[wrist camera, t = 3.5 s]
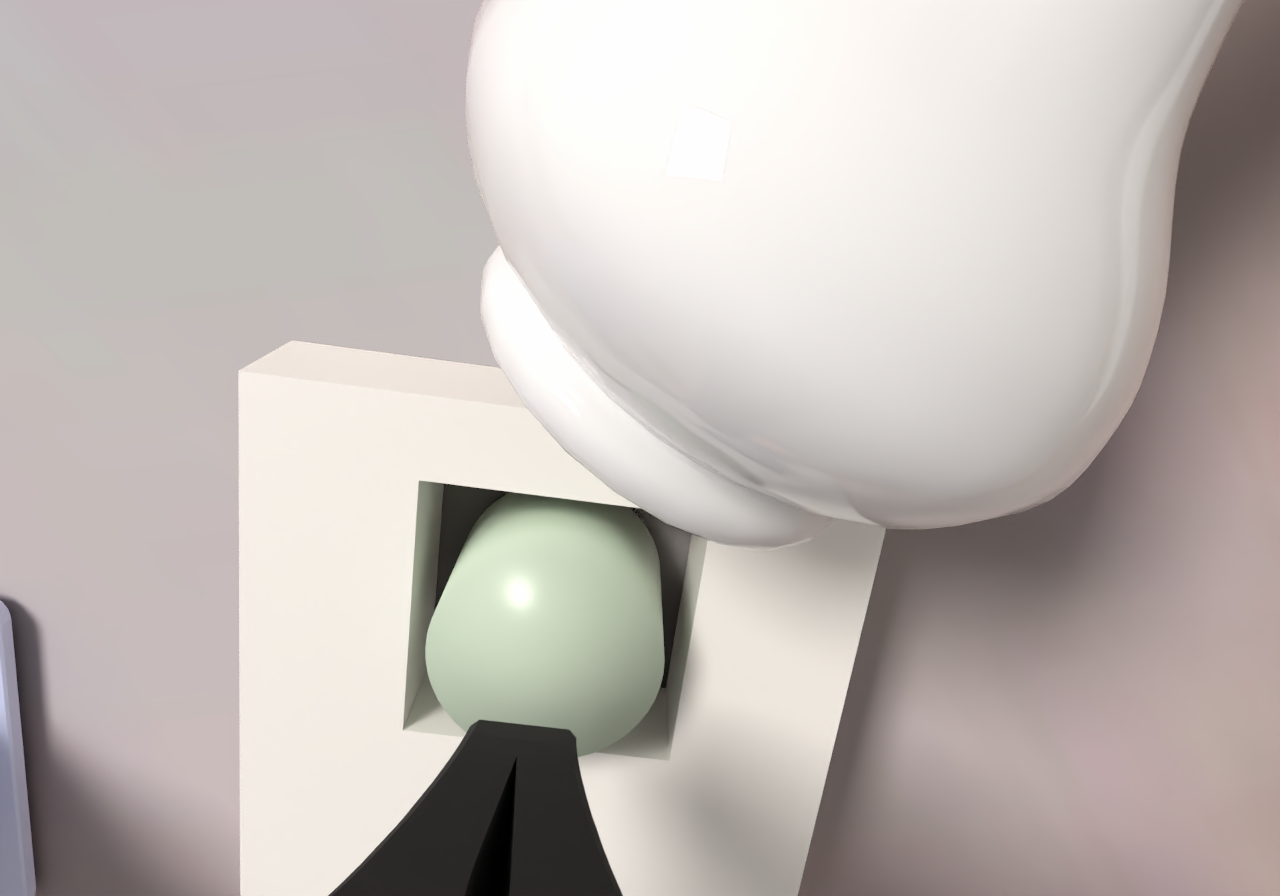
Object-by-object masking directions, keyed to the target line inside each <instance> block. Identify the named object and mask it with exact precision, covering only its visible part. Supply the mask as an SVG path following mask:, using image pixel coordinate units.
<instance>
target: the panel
mask: <svg viewBox="0 0 1280 896" xmlns="http://www.w3.org/2000/svg"><path fill="white" fill-rule="evenodd" d="M444 484H452V485H460V486H468V487H476V488H484V489H491V490H499V491H507V492H515V493H523V494H531V495H539V496H547V497H555V498H563V499H571V500H578V501H586V502H594V503H602V504H610V505H618V506H626V507H634V508H640V507H638V506H637V505H635V504H633V503H632V502H630V501H628V500H627V499H625V498H623V497H622V496H620V495H619V494H617V493H615V492H614V491H613V490H611V489H610V488H609V487H608V486H607V485H605V484H604V483H603V482H602V481H601V480H599V479H598V478H597V477H596V476H595V475H593V474H592V473H591V472H590V471H589V470H587V469H586V468H585V467H584V466H582V465H581V464H580V463H579V462H578V461H576V460H575V459H574V458H573V457H572V456H570V455H569V454H568V453H567V452H566V451H565V450H564V449H563V448H562V447H561V446H560V445H559V444H558V443H557V442H556V440H555V439H554V438H553V437H552V436H551V435H550V434H549V433H548V431H547V430H546V429H545V428H544V427H543V426H542V425H541V424H540V423H539V421H538V420H537V419H536V418H535V417H534V416H533V415H532V414H531V413H530V411H529V410H528V409H527V408H526V407H525V406H524V404H523V403H522V401H521V400H520V398H519V396H518V395H517V393H516V392H515V390H514V388H513V387H512V385H511V384H510V382H509V381H508V379H507V377H506V376H505V374H504V373H503V371H502V369H501V368H497V367H490V366H482V365H475V364H467V363H459V362H452V361H444V360H437V359H429V358H422V357H414V356H407V355H399V354H391V353H384V352H376V351H369V350H361V349H354V348H346V347H339V346H331V345H323V344H316V343H308V342H301V341H293V340H292V341H290V342H288V343H287V344H285V345H283V346H281V347H280V348H278V349H276V350H274V351H273V352H271V353H269V354H267V355H265V356H264V357H262V358H260V359H258V360H257V361H255V362H253V363H251V364H250V365H248V366H246V367H244V368H243V369H241V370H239V667H240V896H328V895H329V894H330V893H331V892H332V891H334V890H335V889H336V888H337V887H338V886H339V885H340V884H341V883H342V882H343V881H344V880H345V879H346V878H347V877H348V876H349V875H350V874H351V873H352V872H353V871H354V870H355V869H356V868H357V867H358V866H359V865H360V864H361V863H362V862H363V861H364V860H365V859H366V858H367V857H368V856H369V855H370V854H371V853H372V851H373V850H374V849H375V848H376V847H377V846H378V845H379V844H380V843H381V842H382V841H383V840H384V839H385V837H386V836H387V835H388V834H389V833H390V832H391V831H392V830H393V829H394V828H395V827H396V826H397V825H398V823H399V822H400V821H401V820H402V819H403V818H404V816H405V815H406V814H407V813H408V812H409V810H410V809H411V808H412V807H413V805H414V804H415V803H416V802H417V801H418V799H419V798H420V797H421V796H422V794H423V793H424V792H425V791H426V790H427V788H428V787H429V786H430V785H431V783H432V782H433V781H434V779H435V778H436V777H437V775H438V774H439V773H440V771H441V770H442V769H443V767H444V766H445V765H446V763H447V762H448V760H449V759H450V758H451V756H452V755H453V753H454V752H455V750H456V749H457V747H458V746H459V744H460V743H461V741H462V739H463V738H464V736H465V735H466V732H465V731H464V730H463V729H462V728H461V727H460V726H459V725H457V724H456V723H455V722H454V721H453V719H452V718H451V717H450V716H449V715H448V714H447V712H446V711H445V710H444V708H443V707H442V705H441V704H440V702H439V701H438V699H437V697H436V695H435V693H434V690H433V688H432V686H431V683H430V680H429V676H428V673H427V666H426V660H425V645H426V638H427V632H428V629H429V625H430V622H431V619H432V617H433V614H434V611H435V598H436V584H437V570H438V556H439V543H440V529H441V515H442V502H443V488H444ZM885 532H886V528H881V527H875V526H869V525H863V524H858V523H853V522H848V521H843V520H839V519H836V520H834V521H833V522H832V523H831V524H830V525H829V526H827V527H826V528H825V529H824V530H823V531H821V532H820V533H819V534H818V535H817V536H816V537H814V538H813V539H812V540H810V541H808V542H806V543H804V544H801V545H798V546H793V547H787V548H782V549H776V550H771V551H765V552H764V551H758V550H752V549H746V548H739V547H733V546H727V545H721V544H716V543H713V542H711V541H708V540H706V539H703V538H701V537H698V536H696V535H693V534H692V536H691V541H690V547H689V553H688V559H687V565H686V571H685V577H684V583H683V589H682V595H681V601H680V607H679V613H678V619H677V625H676V631H675V637H674V642H673V648H672V654H671V660H670V666H669V672H668V678H667V684H666V688H660V689H659V692H658V694H657V696H656V699H655V701H654V703H653V704H652V706H651V708H650V709H649V711H648V713H647V714H646V715H645V716H644V718H643V719H642V720H641V721H640V723H639V724H638V725H637V726H636V727H634V728H633V729H632V730H631V731H630V732H629V733H628V734H627V735H625V736H624V737H622V738H621V739H620V740H618V741H617V742H615V743H613V744H611V745H610V746H608V747H606V748H604V749H601V750H599V751H597V752H594V753H592V754H588V755H584V756H581V757H578V762H579V767H580V772H581V777H582V781H583V785H584V789H585V793H586V797H587V800H588V804H589V807H590V810H591V814H592V817H593V820H594V823H595V825H596V828H597V831H598V834H599V837H600V840H601V843H602V846H603V849H604V851H605V854H606V856H607V859H608V862H609V864H610V867H611V869H612V871H613V874H614V876H615V878H616V881H617V883H618V885H619V888H620V890H621V892H622V895H623V896H798V892H799V888H800V884H801V880H802V876H803V872H804V867H805V863H806V859H807V855H808V851H809V847H810V843H811V838H812V834H813V830H814V826H815V822H816V818H817V814H818V809H819V805H820V801H821V797H822V793H823V789H824V785H825V780H826V776H827V772H828V768H829V764H830V760H831V756H832V752H833V747H834V743H835V739H836V735H837V731H838V727H839V723H840V718H841V714H842V710H843V706H844V702H845V698H846V694H847V689H848V685H849V681H850V677H851V673H852V669H853V665H854V660H855V656H856V652H857V648H858V644H859V640H860V636H861V631H862V627H863V623H864V619H865V615H866V611H867V607H868V602H869V598H870V594H871V590H872V586H873V582H874V578H875V573H876V569H877V565H878V561H879V557H880V553H881V549H882V544H883V540H884V536H885Z"/></svg>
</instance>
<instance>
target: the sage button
mask: <svg viewBox="0 0 1280 896" xmlns="http://www.w3.org/2000/svg"><path fill="white" fill-rule="evenodd" d="M425 660H426V666H427V673H428V676H429V680H430V683H431V686H432V688H433V690H434V693H435V695H436V697H437V699H438V701H439V702H440V704H441V705H442V707H443V708H444V710H445V711H446V712H447V714H448V715H449V716H450V717H451V718H452V719H453V721H454V722H455V723H456V724H457V725H459V726H460V727H461V728H462V729H463V730H464V731H465V732H466V733H467V731H468V729H469V727H470V726H471V725H472V724H474V723H475V722H477V721H478V720H479V719H480V720H489V721H498V722H506V723H515V724H524V725H533V726H542V727H551V728H560V729H569V730H570V731H571V732H572V733H573V734H574V736H575V737H576V745H577V755H578V757H581V756H584V755H588V754H592V753H594V752H597V751H599V750H601V749H604V748H606V747H608V746H610V745H611V744H613V743H615V742H617V741H618V740H620V739H621V738H622V737H624V736H625V735H627V734H628V733H629V732H630V731H631V730H632V729H633V728H634V727H636V726H637V725H638V724H639V723H640V721H641V720H642V719H643V718H644V716H645V715H646V714H647V713H648V711H649V709H650V708H651V706H652V704H653V703H654V701H655V699H656V696H657V694H658V692H659V689H660V686H661V682H662V678H663V673H664V662H665V658H664V637H663V617H662V596H661V576H660V562H659V557H658V552H657V549H656V546H655V543H654V540H653V538H652V536H651V535H650V533H649V531H648V529H647V527H646V526H645V525H644V523H643V522H642V520H641V519H640V518H639V517H638V516H637V515H636V514H635V513H634V511H633V510H632V509H630V508H629V507H626V506H618V505H610V504H602V503H594V502H586V501H578V500H571V499H563V498H555V497H547V496H539V495H531V494H523V493H515V492H510V493H507V494H506V495H504V496H503V497H501V498H500V499H498V500H496V501H495V502H494V503H493V504H492V505H491V506H489V507H488V508H487V509H486V510H485V511H484V512H483V513H482V515H481V516H480V517H479V518H478V519H477V521H476V522H475V524H474V525H473V527H472V528H471V531H470V533H469V535H468V537H467V539H466V541H465V543H464V546H463V548H462V550H461V553H460V555H459V557H458V559H457V562H456V564H455V566H454V569H453V571H452V573H451V575H450V578H449V580H448V582H447V585H446V587H445V589H444V591H443V594H442V596H441V598H440V601H439V603H438V605H437V608H436V610H435V612H434V614H433V617H432V619H431V622H430V625H429V629H428V632H427V638H426V645H425Z"/></svg>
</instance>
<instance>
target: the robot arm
mask: <svg viewBox="0 0 1280 896" xmlns="http://www.w3.org/2000/svg"><path fill="white" fill-rule="evenodd" d="M35 893H36V881H35V870H34V859H33V849H32V838H31V827H30V816H29V805H28V795H27V784H26V773H25V762H24V751H23V740H22V730H21V719H20V708H19V697H18V686H17V675H16V665H15V654H14V643H13V632H12V621H11V616H10V613H9V610H8V608H7V607H6V606H5V605H4V603H3V602H2V601H0V896H35ZM328 896H623V895H622V892H621V890H620V888H619V885H618V883H617V881H616V878H615V876H614V874H613V871H612V869H611V867H610V864H609V862H608V859H607V856H606V854H605V851H604V849H603V846H602V843H601V840H600V837H599V834H598V831H597V828H596V825H595V823H594V820H593V817H592V814H591V810H590V807H589V804H588V800H587V797H586V793H585V789H584V785H583V781H582V777H581V772H580V767H579V762H578V755H577V745H576V737H575V736H574V734H573V733H572V732H571V731H570V730H569V729H560V728H551V727H542V726H533V725H524V724H515V723H506V722H498V721H489V720H480V719H479V720H478V721H477V722H475V723H474V724H472V725H471V726H470V727H469V729H468V731H467V733H466V735H465V736H464V738H463V739H462V741H461V743H460V744H459V746H458V747H457V749H456V750H455V752H454V753H453V755H452V756H451V758H450V759H449V760H448V762H447V763H446V765H445V766H444V767H443V769H442V770H441V771H440V773H439V774H438V775H437V777H436V778H435V779H434V781H433V782H432V783H431V785H430V786H429V787H428V788H427V790H426V791H425V792H424V793H423V794H422V796H421V797H420V798H419V799H418V801H417V802H416V803H415V804H414V805H413V807H412V808H411V809H410V810H409V812H408V813H407V814H406V815H405V816H404V818H403V819H402V820H401V821H400V822H399V823H398V825H397V826H396V827H395V828H394V829H393V830H392V831H391V832H390V833H389V834H388V835H387V836H386V837H385V839H384V840H383V841H382V842H381V843H380V844H379V845H378V846H377V847H376V848H375V849H374V850H373V851H372V853H371V854H370V855H369V856H368V857H367V858H366V859H365V860H364V861H363V862H362V863H361V864H360V865H359V866H358V867H357V868H356V869H355V870H354V871H353V872H352V873H351V874H350V875H349V876H348V877H347V878H346V879H345V880H344V881H343V882H342V883H341V884H340V885H339V886H338V887H337V888H336V889H335V890H334V891H332V892H331V893H330V894H329V895H328Z"/></svg>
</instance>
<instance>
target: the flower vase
mask: <svg viewBox="0 0 1280 896" xmlns="http://www.w3.org/2000/svg"><path fill="white" fill-rule="evenodd" d="M1243 2H1244V0H484V1H483V3H482V5H481V7H480V10H479V12H478V14H477V16H476V19H475V21H474V26H473V31H472V36H471V40H470V45H469V54H468V67H467V81H466V125H467V135H468V145H469V152H470V157H471V162H472V167H473V172H474V177H475V182H476V184H477V187H478V190H479V192H480V195H481V198H482V200H483V203H484V206H485V208H486V211H487V214H488V216H489V219H490V221H491V224H492V226H493V229H494V231H495V234H496V237H497V239H498V242H499V244H498V246H497V247H496V249H495V250H494V252H493V253H492V255H491V256H490V258H489V259H488V261H487V263H486V265H485V267H484V269H483V273H482V279H481V308H480V316H481V319H482V322H483V325H484V328H485V331H486V333H487V336H488V339H489V342H490V345H491V348H492V351H493V354H494V357H495V359H496V361H497V363H498V365H499V366H500V368H501V369H502V371H503V373H504V374H505V376H506V377H507V379H508V381H509V382H510V384H511V385H512V387H513V388H514V390H515V392H516V393H517V395H518V396H519V398H520V400H521V401H522V403H523V404H524V406H525V407H526V408H527V409H528V410H529V411H530V413H531V414H532V415H533V416H534V417H535V418H536V419H537V420H538V421H539V423H540V424H541V425H542V426H543V427H544V428H545V429H546V430H547V431H548V433H549V434H550V435H551V436H552V437H553V438H554V439H555V440H556V442H557V443H558V444H559V445H560V446H561V447H562V448H563V449H564V450H565V451H566V452H567V453H568V454H569V455H570V456H572V457H573V458H574V459H575V460H576V461H578V462H579V463H580V464H581V465H582V466H584V467H585V468H586V469H587V470H589V471H590V472H591V473H592V474H593V475H595V476H596V477H597V478H598V479H599V480H601V481H602V482H603V483H604V484H605V485H607V486H608V487H609V488H610V489H611V490H613V491H614V492H615V493H617V494H619V495H620V496H622V497H623V498H625V499H627V500H628V501H630V502H632V503H633V504H635V505H637V506H638V507H640V508H641V509H643V510H645V511H646V512H648V513H650V514H651V515H653V516H655V517H656V518H658V519H659V520H661V521H663V522H664V523H666V524H668V525H671V526H673V527H676V528H678V529H681V530H683V531H686V532H688V533H691V534H693V535H696V536H698V537H701V538H703V539H706V540H708V541H711V542H713V543H716V544H721V545H727V546H733V547H739V548H746V549H752V550H758V551H764V552H765V551H771V550H776V549H782V548H787V547H793V546H798V545H801V544H804V543H806V542H808V541H810V540H812V539H813V538H814V537H816V536H817V535H818V534H819V533H820V532H821V531H823V530H824V529H825V528H826V527H827V526H829V525H830V524H831V523H832V522H833V521H834V520H836V519H839V520H843V521H848V522H853V523H858V524H863V525H869V526H875V527H881V528H888V529H932V528H941V527H951V526H959V525H964V524H969V523H974V522H979V521H984V520H989V519H994V518H998V517H1003V516H1007V515H1011V514H1015V513H1020V512H1024V511H1027V510H1029V509H1031V508H1034V507H1036V506H1038V505H1041V504H1043V503H1045V502H1048V501H1050V500H1051V499H1053V498H1054V497H1055V496H1057V495H1058V494H1060V493H1061V492H1062V491H1064V490H1065V489H1067V488H1068V487H1069V486H1071V485H1072V484H1073V483H1074V482H1075V481H1076V479H1077V478H1078V477H1079V476H1080V475H1081V474H1082V473H1083V472H1084V471H1085V470H1086V469H1087V468H1088V467H1089V466H1090V464H1091V463H1092V462H1093V460H1094V459H1095V458H1096V456H1097V455H1098V454H1099V453H1100V451H1101V450H1102V449H1103V447H1104V446H1105V445H1106V443H1107V442H1108V440H1109V439H1110V438H1111V436H1112V435H1113V433H1114V432H1115V430H1116V429H1117V428H1118V426H1119V424H1120V423H1121V421H1122V420H1123V418H1124V416H1125V415H1126V413H1127V412H1128V410H1129V408H1130V407H1131V405H1132V403H1133V401H1134V398H1135V396H1136V394H1137V392H1138V390H1139V388H1140V386H1141V383H1142V380H1143V378H1144V375H1145V372H1146V369H1147V366H1148V364H1149V361H1150V357H1151V354H1152V350H1153V347H1154V343H1155V340H1156V336H1157V333H1158V329H1159V324H1160V320H1161V315H1162V310H1163V305H1164V301H1165V296H1166V291H1167V283H1168V274H1169V265H1170V254H1171V239H1172V223H1173V212H1174V200H1175V189H1176V182H1177V175H1178V169H1179V162H1180V156H1181V151H1182V147H1183V144H1184V140H1185V136H1186V133H1187V129H1188V125H1189V122H1190V120H1191V117H1192V114H1193V112H1194V109H1195V107H1196V104H1197V101H1198V99H1199V96H1200V94H1201V91H1202V89H1203V87H1204V84H1205V82H1206V80H1207V78H1208V75H1209V73H1210V71H1211V68H1212V66H1213V64H1214V62H1215V59H1216V57H1217V55H1218V53H1219V51H1220V49H1221V47H1222V45H1223V42H1224V40H1225V38H1226V36H1227V34H1228V32H1229V30H1230V28H1231V26H1232V24H1233V21H1234V19H1235V17H1236V15H1237V13H1238V11H1239V9H1240V7H1241V5H1242V4H1243Z"/></svg>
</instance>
